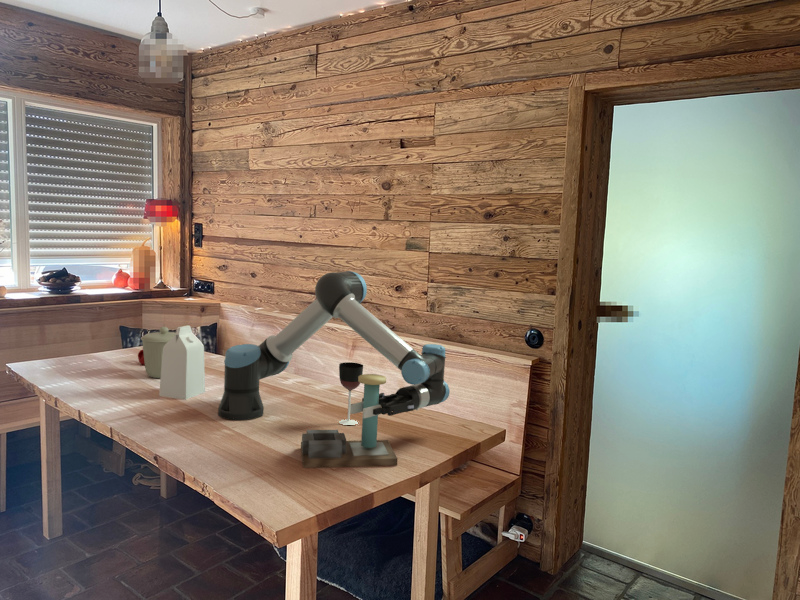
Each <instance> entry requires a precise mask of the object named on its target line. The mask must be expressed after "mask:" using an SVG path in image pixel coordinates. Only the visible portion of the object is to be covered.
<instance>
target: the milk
mask: <svg viewBox="0 0 800 600" xmlns="http://www.w3.org/2000/svg"><path fill="white" fill-rule="evenodd" d="M175 333H176V335H175V336H174V337H173V338H172V339H171V340H169V341H168V342H167V343H166V344H165V345H164V347H163V354H162V367H161V378H159V379H160V383H159V393H158V394H159V395H158V396H159V397H164V398H170V399H178V400H185V401H187V400H188V399H191V398H194V397H196V396H199V395H201V394H204V393H206V382H205V380H206V378H205V346H204V344H203V342H202V341H201V340H200V339H199V338H198V337H197V336H196V335H195V333H193V330H192V327H191V325H188V324H187V325H183V326H178V327H177V328H176V331H175Z"/></svg>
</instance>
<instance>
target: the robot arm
mask: <svg viewBox="0 0 800 600" xmlns="http://www.w3.org/2000/svg"><path fill="white" fill-rule="evenodd" d="M367 288H368V286H367V284H366V281H365V279H364V277H363V276H362V275H361V274H359V273H358V272H355V271H351V270H348V271H347V270H346V271H337V272H334V271H333V272H328V273H325V274H323V275H322V276H321V277H319V279H318V280H317V281H316V284H315V287H314V294H315V297H316V299H314V300H313V301H312V302H311V303H310V304H309V305H308V306H307V307H305V308H304V309H303V310H302V311H301V312H300V313H299V314H297V316H296V317H295V318H293V320H291V321H290V322H289V323H288V324H287V325H286V326H285V327H284V328H283V329H281V331H280V332H278V333H277V334H276V335H273V334H272V335H269V336H268V337H266V338H265V340H264V341H262V342H261V343H260V344H259V345H257V344H252V343H244V344H243V343H242V344H235V345H233V346H231V347H229V348H228V349H227V350H226V351H225V355H224V362H223V364H224V377H223V378H224V379H223V381H224V383H223V384H224V385H223V386H224V387H223V389H224V390H223V394H222V397H221V400H220V402H219V406H218V408H217V411H218V412H217V414H218V417H221V418H222V419H225V420H231V421H246V420H253V419H257V418H260V417H262V416H263V415H264V410H265V409H264V408H265V407H264V403H263V401H262V397H261V394H260V380H262V379H266V378H269V377H272V376H273V377H274V376H277V375H279V374H281V373H282V372H284V370H286V368H288V366H289V363H290V361H291V360H292V359H293V353H294V352H296V351H297V350H298V349H299V348H300V347H301V346H302V345H303V344H305V343H306V342H307V341H308V340H309V339H310V338H311V337H312V336H314V334H316V333H317V332H318V331H319V330H320V329H321V328H323V326H325V325H326V324H327V323H328V322H330V321H331V320H332V319H333V318H334V319H340V320H341V321H343V323H345V324H346V325H347V326H348V327H349V328H351V330H353V331H354V332H356V334H358V335H359V336H360V337H361V338H362V339H364V341H365V342H367V343H368V344H369V345H371V346H372V347H373V348H374V349H375V350H376V351H377V352H378V353H379V354H380V355H382V356H383V357H384V358H386V359H387V360H388V361H389V362H390V363H391V364H393V366H395V367H396V368H397V369H398V370H399V371H400V372H401V376H402V378H403V380H404V381H405V382H406V383H407V384H409V386H405V387H403V386H402V387H400V388H399V389H397V391H396V392H395V393H391V394H387V395H385V393H384V392H379V405H375V406H371V407H367V408H363V400H364V397H362V399H361V400H362V401H359V402H356V403H355V402H354V403H350V415H355V414H358V413H362V415H361V416H362V419H363V418H364V419H365V418H368V417H372V416H376V415H378V416H380V415H387V416H394V415H398V414H402V413H403V414H404V413H408V412H414V411H415V410H416V411H418V410H419V409H423V408H426V407H431V406H436V405H438V404H441V403H443V402H445V401H446V400H447V399H448V398H449V397H450V387H449V384H448V383H447V382H446V381H445V368H446V367H445V365H446V347H445V346H443V345H441V344H433V343H429V344H424V345H423V346H422V351H421V354H420V353H419V352H418V351H417V350H415V349H414V348H413V347H411V345H409V343H407V342H406V341H405V340H404V339H402V338H401V337H400V336H399V335H398V334H396V332H394V331H393V330H392V329H390V327H388V326H387V325H386V324H385V323H383V322H382V321H381V320H380V319H379V318H377V317H376V316H375V315H374V314H373V313H371V312H370V311H369V310H368V309H367V308H365V306H363V305H362V304H361V303H362V302H363V301H364V300H365V299H366V297H367V294H368V292H367V291H368V289H367Z"/></svg>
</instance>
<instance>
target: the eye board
mask: <svg viewBox="0 0 800 600" xmlns="http://www.w3.org/2000/svg"><path fill="white" fill-rule="evenodd" d="M301 434H302V435H301V441H300V453H301V454H300V455H301V461H302V462H301V463H302V468H304V469H310V468H313V469H315V468H344V467H346V468H350V467H353V468H354V467H356V468H357V467H383V466H384V467H385V466H387V467H388V466H390V467H391V466H393V467H394V466H398V460H399V459H398V457H397V454H396V453H395V451H394V449H393V448H392V446H391V444H390V442H389V440H388V439H379V440H378V439H377V443H376V447H373V448H366V447H363V446H361V440H347V438H346V435H345V433H344V432H339V430H338V429H307V430H306V433H301Z"/></svg>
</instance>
